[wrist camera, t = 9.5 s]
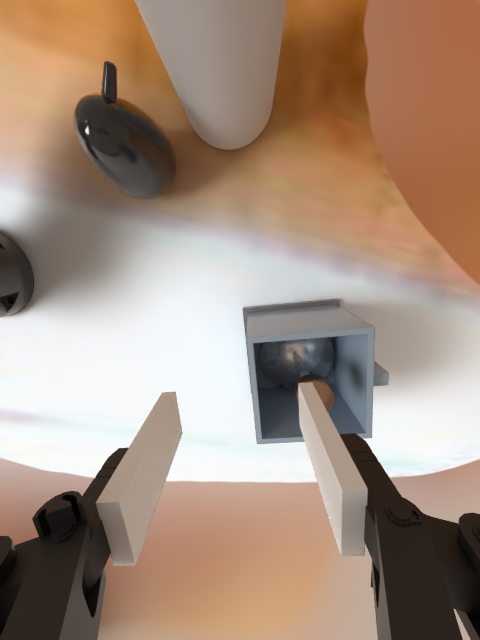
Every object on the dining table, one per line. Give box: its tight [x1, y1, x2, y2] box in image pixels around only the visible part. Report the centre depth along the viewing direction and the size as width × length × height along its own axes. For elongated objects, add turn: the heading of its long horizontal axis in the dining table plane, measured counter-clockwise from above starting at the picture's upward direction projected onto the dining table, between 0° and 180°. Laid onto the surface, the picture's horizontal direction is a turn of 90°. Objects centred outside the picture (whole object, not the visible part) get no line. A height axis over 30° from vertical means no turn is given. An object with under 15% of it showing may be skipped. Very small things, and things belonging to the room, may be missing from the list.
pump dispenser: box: [73, 61, 176, 200], centre depth 31 cm, size 10×10×15 cm
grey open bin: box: [243, 299, 389, 444], centre depth 37 cm, size 18×16×15 cm
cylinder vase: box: [134, 0, 287, 150], centre depth 24 cm, size 12×12×25 cm
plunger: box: [260, 337, 334, 412], centre depth 35 cm, size 12×12×13 cm
